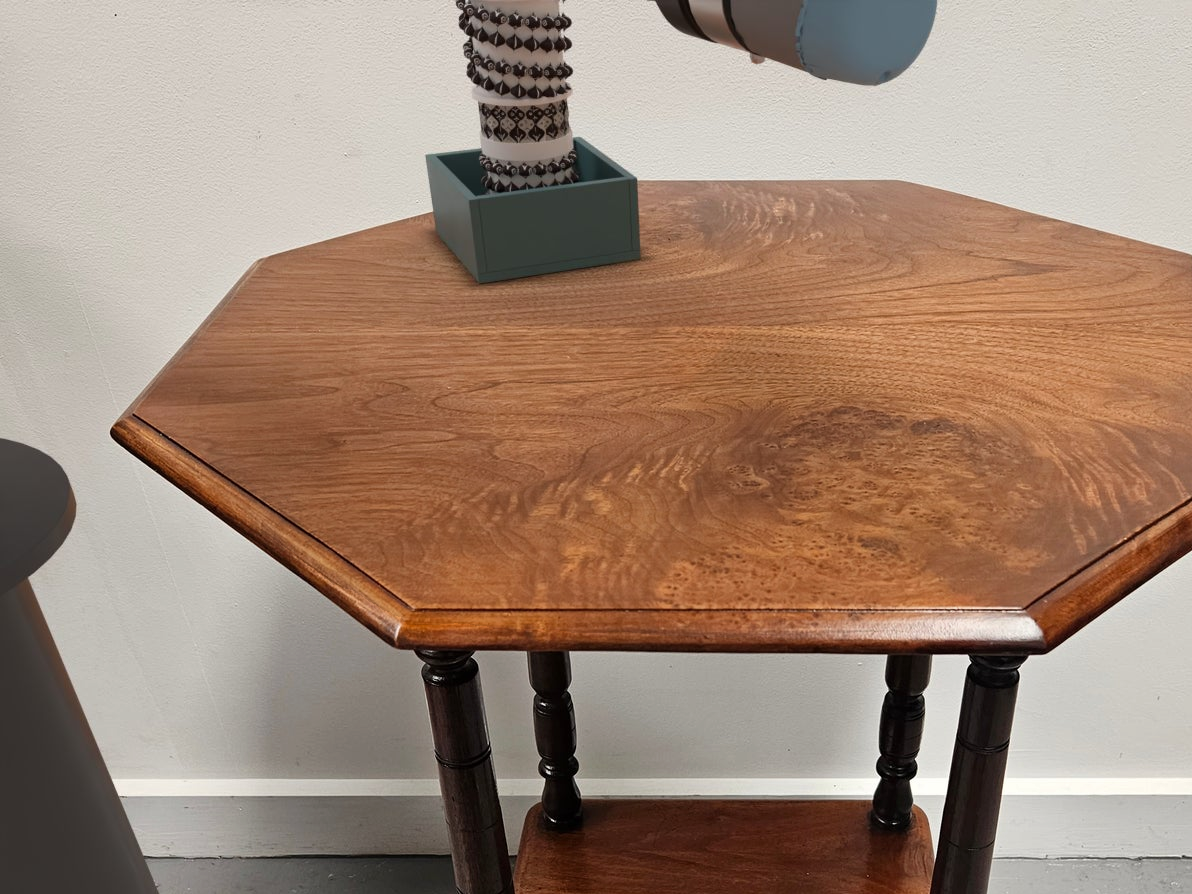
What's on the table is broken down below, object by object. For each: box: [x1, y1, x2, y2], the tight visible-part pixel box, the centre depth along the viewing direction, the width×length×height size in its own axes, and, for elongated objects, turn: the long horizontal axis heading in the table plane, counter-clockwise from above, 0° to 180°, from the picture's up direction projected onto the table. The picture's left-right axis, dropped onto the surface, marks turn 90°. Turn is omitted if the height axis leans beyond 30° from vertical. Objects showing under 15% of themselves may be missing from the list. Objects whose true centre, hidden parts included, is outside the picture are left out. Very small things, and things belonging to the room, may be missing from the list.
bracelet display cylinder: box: [455, 0, 579, 195], centre depth 104 cm, size 9×9×25 cm
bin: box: [424, 136, 642, 285], centre depth 110 cm, size 15×15×7 cm
